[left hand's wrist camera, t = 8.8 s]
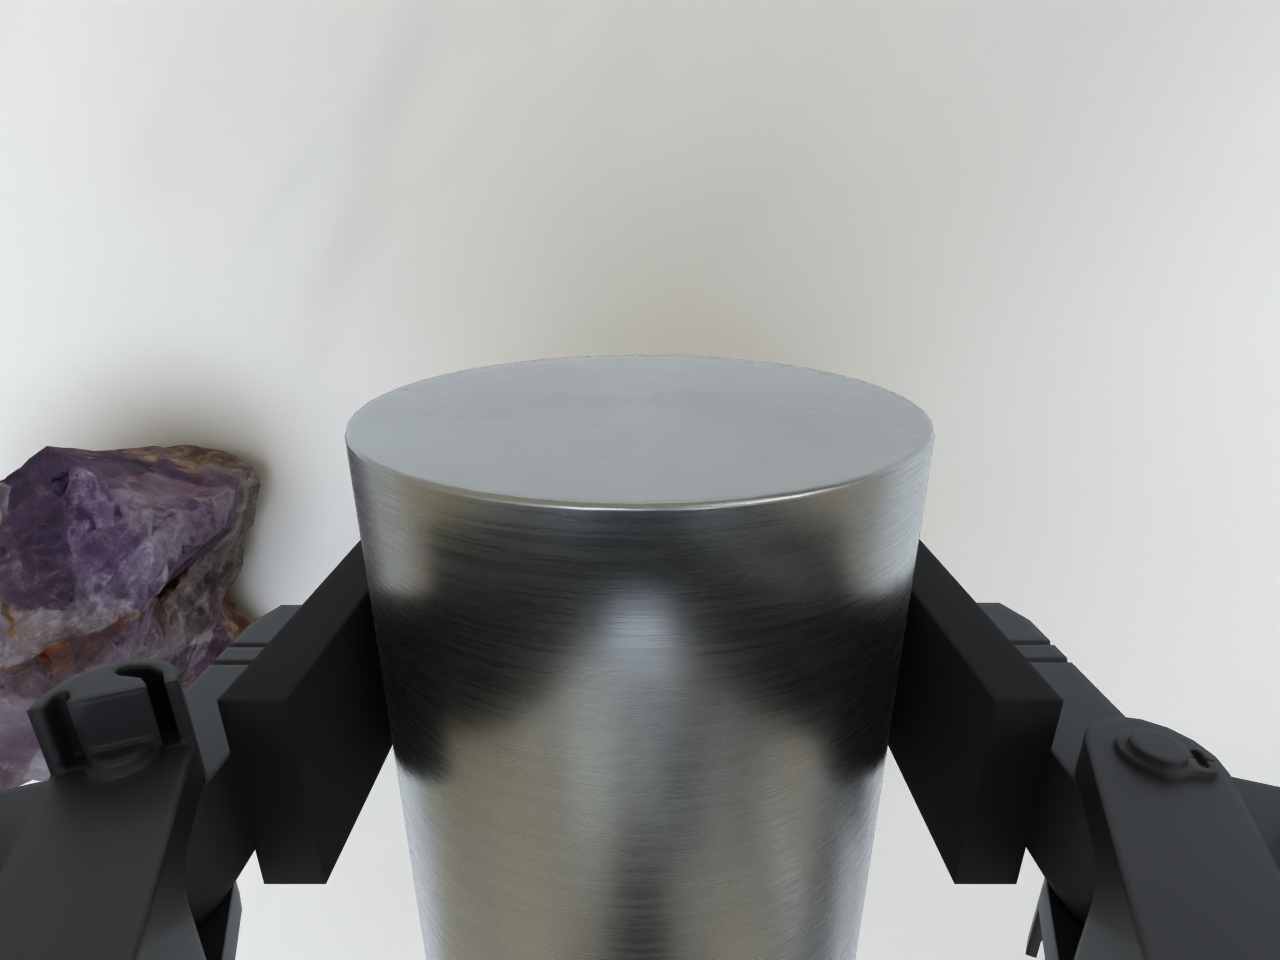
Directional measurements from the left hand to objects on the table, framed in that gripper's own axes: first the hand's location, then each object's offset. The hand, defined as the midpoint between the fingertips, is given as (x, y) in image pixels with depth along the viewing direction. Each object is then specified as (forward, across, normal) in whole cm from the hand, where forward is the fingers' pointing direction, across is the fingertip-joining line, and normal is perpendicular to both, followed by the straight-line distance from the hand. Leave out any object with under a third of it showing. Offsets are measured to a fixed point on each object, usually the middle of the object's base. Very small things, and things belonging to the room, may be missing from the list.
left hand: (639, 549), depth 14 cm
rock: (+13, -19, -6) cm, 24 cm away
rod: (+1, 0, -10) cm, 10 cm away
